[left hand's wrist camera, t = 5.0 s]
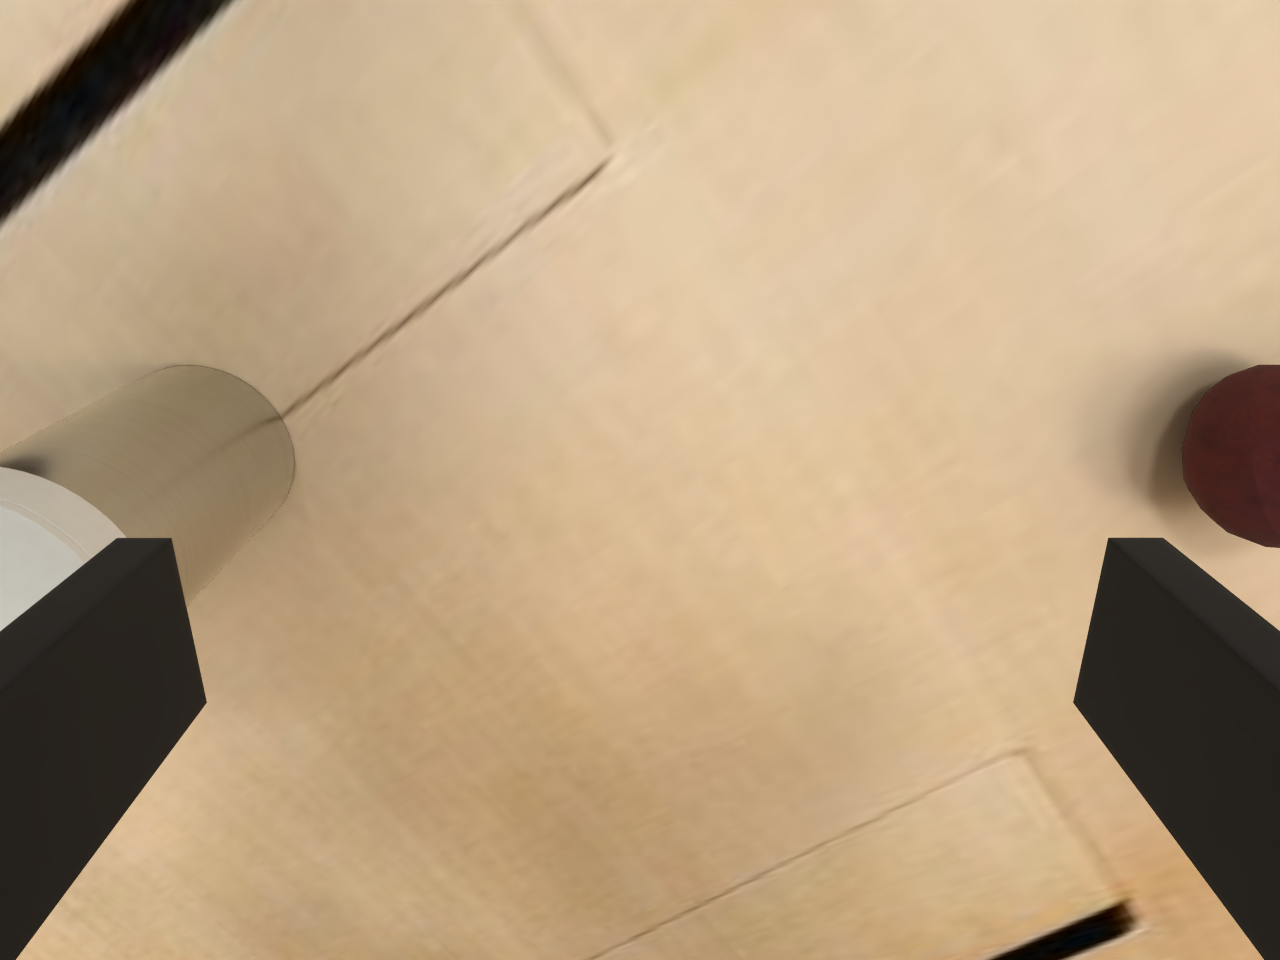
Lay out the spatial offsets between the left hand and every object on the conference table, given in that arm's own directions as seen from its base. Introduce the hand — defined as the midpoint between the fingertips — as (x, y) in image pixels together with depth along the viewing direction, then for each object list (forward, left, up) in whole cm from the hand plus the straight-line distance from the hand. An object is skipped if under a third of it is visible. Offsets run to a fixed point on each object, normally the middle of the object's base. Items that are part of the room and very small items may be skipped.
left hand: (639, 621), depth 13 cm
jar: (+8, -20, -28) cm, 35 cm away
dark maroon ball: (+6, +27, -28) cm, 39 cm away
